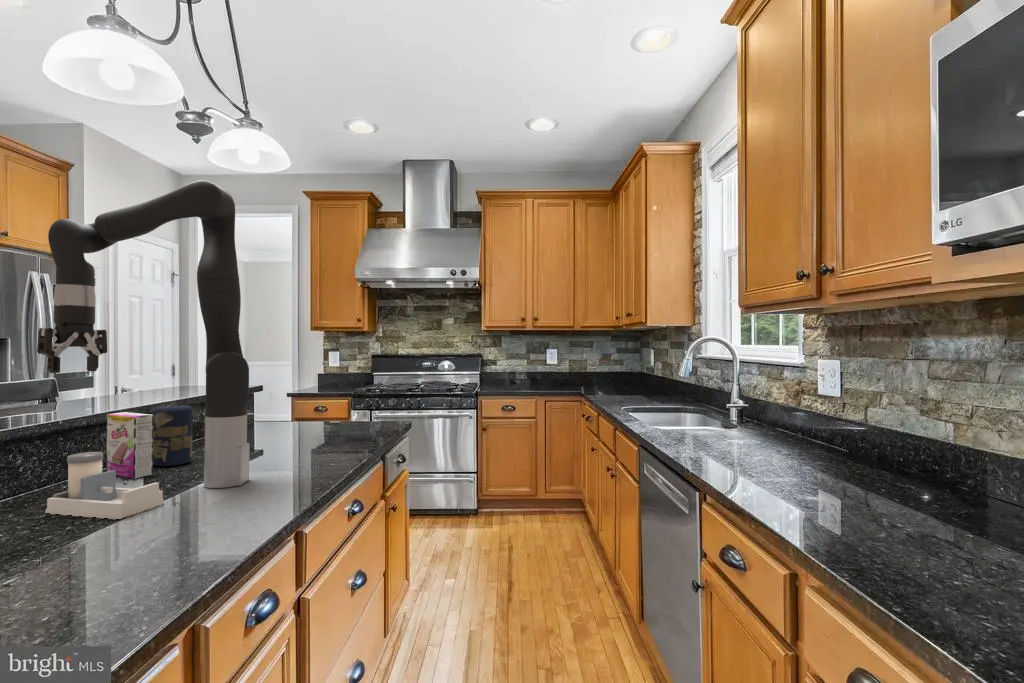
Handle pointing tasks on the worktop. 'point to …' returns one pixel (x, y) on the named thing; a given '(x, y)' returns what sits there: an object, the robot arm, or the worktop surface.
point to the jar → (82, 470)
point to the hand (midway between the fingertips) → (73, 372)
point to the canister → (172, 435)
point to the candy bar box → (130, 444)
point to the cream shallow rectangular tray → (108, 503)
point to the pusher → (99, 486)
